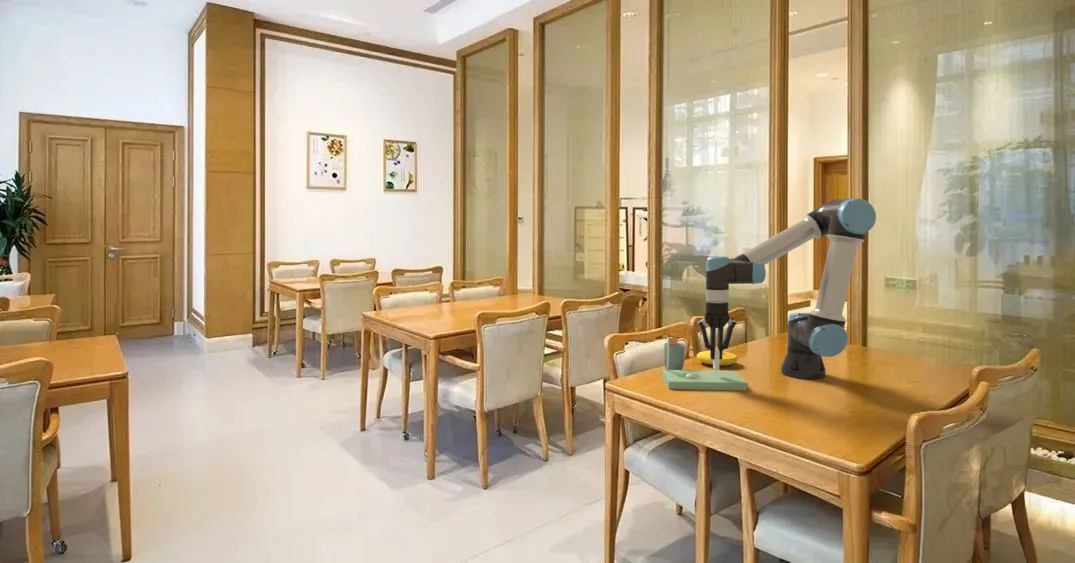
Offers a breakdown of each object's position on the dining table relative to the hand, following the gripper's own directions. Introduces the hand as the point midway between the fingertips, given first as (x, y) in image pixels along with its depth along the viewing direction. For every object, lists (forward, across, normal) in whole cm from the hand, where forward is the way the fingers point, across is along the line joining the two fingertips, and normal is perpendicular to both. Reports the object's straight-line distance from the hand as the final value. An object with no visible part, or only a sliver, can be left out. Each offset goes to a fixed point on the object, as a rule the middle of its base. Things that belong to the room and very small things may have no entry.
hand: (716, 368), depth 209 cm
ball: (+4, +9, 0) cm, 10 cm away
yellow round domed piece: (+6, -7, -29) cm, 31 cm away
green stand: (+5, +5, 0) cm, 7 cm away
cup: (+5, +12, -17) cm, 21 cm away
